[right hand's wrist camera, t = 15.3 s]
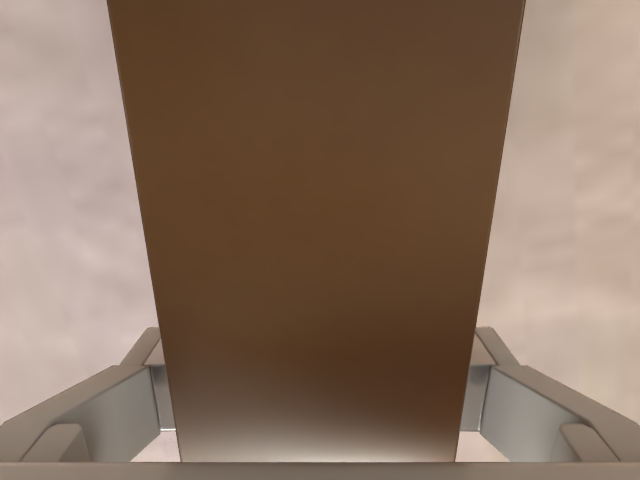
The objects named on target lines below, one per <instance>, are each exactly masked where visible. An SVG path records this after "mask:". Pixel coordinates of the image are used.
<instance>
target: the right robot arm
mask: <svg viewBox="0 0 640 480" xmlns="http://www.w3.org/2000/svg"><path fill="white" fill-rule="evenodd" d="M164 431H176V429H175V423H174V416H173V410H172V404H171V398H170V391H169V385H168V379H167V373H166V367H165V360H164V354H163V348H162V342H161V335H160V329H159V327H150V328H147V329H146V330H145V331H144V333H143V334H142V335H141V337H140V338H139V339H138V341H137V342H136V343H135V345H134V346H133V347H132V349H131V350H130V351H129V353H128V354H127V355H126V357H125V358H124V359H123V361H122V362H121V363H120V365H119V366H111V367H109V368H107V369H105V370H103V371H101V372H99V373H97V374H96V375H94V376H92V377H90V378H88V379H86V380H84V381H82V382H80V383H78V384H76V385H74V386H73V387H71V388H69V389H67V390H65V391H63V392H61V393H59V394H57V395H55V396H53V397H51V398H50V399H48V400H46V401H44V402H42V403H40V404H38V405H36V406H34V407H32V408H30V409H28V410H27V411H25V412H23V413H21V414H19V415H17V416H15V417H13V418H11V419H9V420H7V421H5V422H4V423H3V424H2V425H1V426H0V480H640V426H639V425H638V424H637V423H636V422H634V421H632V420H630V419H629V418H627V417H625V416H623V415H621V414H619V413H617V412H615V411H613V410H611V409H609V408H607V407H606V406H604V405H602V404H600V403H598V402H596V401H594V400H592V399H590V398H588V397H586V396H585V395H583V394H581V393H579V392H577V391H575V390H573V389H571V388H569V387H567V386H565V385H564V384H562V383H560V382H558V381H556V380H554V379H552V378H550V377H548V376H546V375H544V374H543V373H541V372H539V371H537V370H535V369H533V368H531V367H529V366H521V365H520V363H519V362H518V361H517V359H516V358H515V357H514V355H513V354H512V353H511V351H510V350H509V349H508V347H507V346H506V345H505V343H504V342H503V341H502V339H501V338H500V337H499V336H498V334H497V333H496V332H495V330H494V329H493V328H491V327H476V328H475V335H474V341H473V348H472V354H471V361H470V367H469V374H468V380H467V387H466V393H465V400H464V406H463V413H462V419H461V426H460V431H475V432H480V434H481V435H482V436H483V437H484V438H485V439H486V440H487V441H489V442H490V443H491V444H492V445H493V446H494V447H495V448H496V449H497V450H498V451H500V452H501V453H502V454H503V455H504V456H505V457H506V458H507V459H508V460H509V461H510V462H130V461H131V460H132V459H133V458H134V457H135V456H136V455H137V454H139V453H140V452H141V451H142V450H143V449H144V448H145V447H146V446H147V445H148V444H150V443H151V442H152V441H153V440H154V439H155V438H156V437H157V436H158V435H159V434H160V432H164Z"/></svg>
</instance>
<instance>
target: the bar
mask: <svg viewBox="0 0 640 480" xmlns="http://www.w3.org/2000/svg"><path fill="white" fill-rule="evenodd" d="M525 2H526V0H107V5H108V12H109V18H110V24H111V30H112V36H113V43H114V49H115V55H116V61H117V68H118V74H119V80H120V86H121V92H122V99H123V105H124V111H125V117H126V124H127V130H128V136H129V142H130V149H131V155H132V161H133V167H134V173H135V180H136V186H137V192H138V198H139V205H140V211H141V217H142V223H143V230H144V236H145V242H146V248H147V254H148V261H149V267H150V273H151V279H152V286H153V292H154V298H155V304H156V310H157V317H158V323H159V329H160V335H161V342H162V348H163V354H164V360H165V367H166V373H167V379H168V385H169V391H170V398H171V404H172V410H173V416H174V423H175V429H176V435H177V441H178V448H179V454H180V460H181V462H455V458H456V452H457V445H458V439H459V432H460V426H461V419H462V413H463V406H464V400H465V393H466V387H467V380H468V374H469V367H470V361H471V354H472V348H473V341H474V335H475V328H476V322H477V315H478V309H479V302H480V296H481V289H482V283H483V276H484V270H485V263H486V257H487V250H488V243H489V237H490V230H491V224H492V217H493V211H494V204H495V198H496V191H497V185H498V178H499V172H500V165H501V159H502V152H503V146H504V139H505V133H506V126H507V120H508V113H509V107H510V100H511V94H512V87H513V81H514V74H515V68H516V61H517V55H518V48H519V42H520V35H521V29H522V22H523V15H524V9H525Z"/></svg>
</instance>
